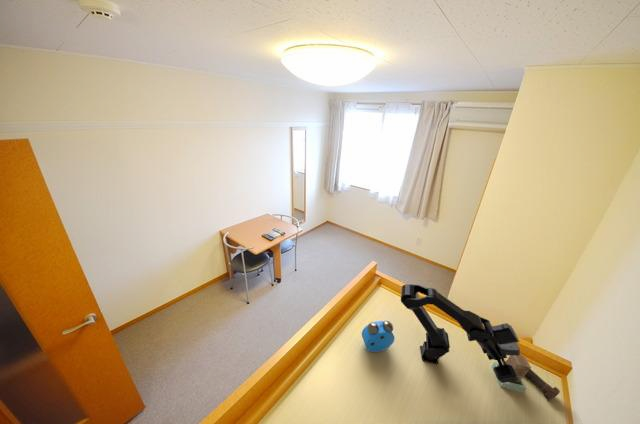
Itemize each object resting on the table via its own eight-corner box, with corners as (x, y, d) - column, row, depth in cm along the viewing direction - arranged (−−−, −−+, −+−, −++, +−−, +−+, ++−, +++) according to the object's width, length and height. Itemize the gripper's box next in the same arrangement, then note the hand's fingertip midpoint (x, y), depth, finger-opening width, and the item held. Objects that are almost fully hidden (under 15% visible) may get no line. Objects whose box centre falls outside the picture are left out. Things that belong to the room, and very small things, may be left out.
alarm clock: (385, 337, 105) (392, 316, 98) (391, 350, 100) (398, 328, 93) (359, 341, 103) (363, 319, 96) (364, 355, 97) (369, 333, 91)
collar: (500, 386, 89) (503, 382, 88) (491, 366, 96) (494, 362, 95) (523, 392, 88) (526, 388, 86) (512, 371, 94) (515, 366, 93)
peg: (503, 383, 90) (518, 364, 84) (498, 371, 94) (511, 353, 88) (515, 386, 89) (531, 367, 83) (509, 374, 93) (524, 356, 87)
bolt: (510, 362, 100) (551, 400, 87) (506, 362, 97) (547, 401, 84) (519, 353, 98) (562, 390, 86) (515, 353, 96) (558, 391, 83)
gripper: (525, 362, 74) (545, 389, 77) (498, 315, 90) (515, 339, 94) (489, 369, 79) (510, 394, 82) (469, 323, 95) (487, 346, 98)
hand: (506, 366), depth 89 cm, fingers open, 9 cm apart
